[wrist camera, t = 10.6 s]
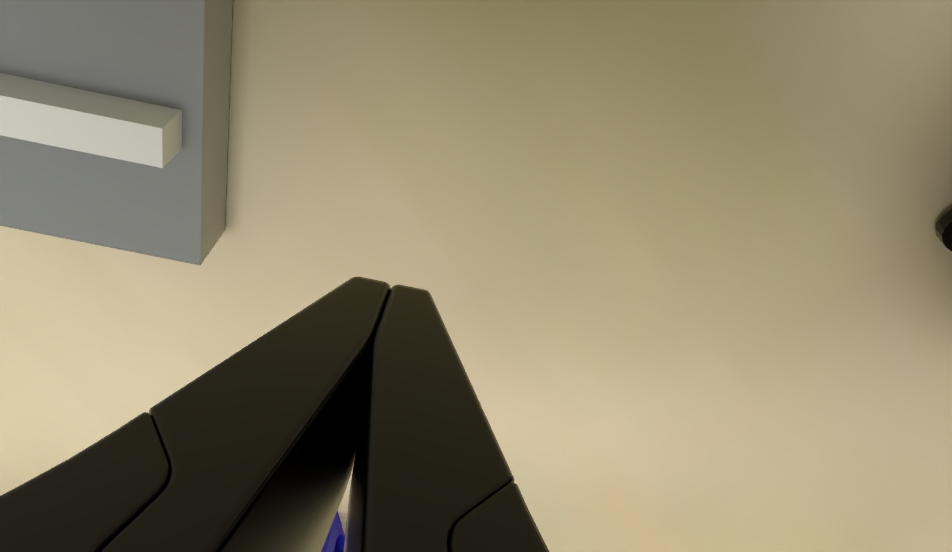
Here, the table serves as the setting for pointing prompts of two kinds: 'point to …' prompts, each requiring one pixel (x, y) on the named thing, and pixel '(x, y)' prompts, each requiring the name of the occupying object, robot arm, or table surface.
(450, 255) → the table surface
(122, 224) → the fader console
